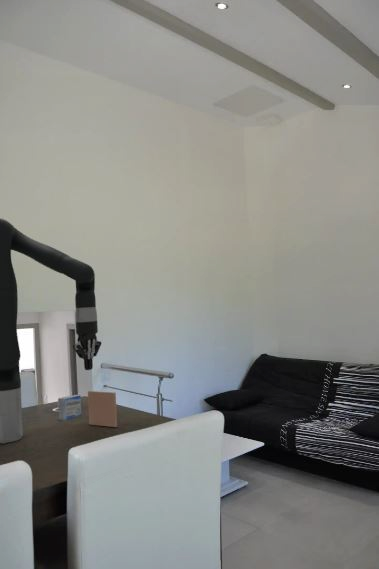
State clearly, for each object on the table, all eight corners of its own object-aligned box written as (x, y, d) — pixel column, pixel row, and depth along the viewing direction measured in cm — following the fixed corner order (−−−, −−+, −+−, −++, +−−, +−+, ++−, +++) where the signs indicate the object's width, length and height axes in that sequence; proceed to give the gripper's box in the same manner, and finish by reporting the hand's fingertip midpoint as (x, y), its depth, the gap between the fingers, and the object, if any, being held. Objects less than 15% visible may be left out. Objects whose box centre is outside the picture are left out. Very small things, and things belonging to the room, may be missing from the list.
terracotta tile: (115, 427, 167) (113, 393, 168) (89, 424, 173) (87, 391, 173) (117, 426, 168) (115, 392, 169) (91, 423, 174) (89, 390, 174)
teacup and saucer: (65, 407, 211) (65, 397, 211) (76, 408, 206) (76, 399, 206) (48, 411, 204) (48, 401, 205) (59, 413, 199) (59, 403, 200)
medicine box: (65, 421, 182) (64, 398, 183) (58, 420, 185) (57, 397, 186) (81, 416, 189) (81, 395, 189) (74, 415, 191) (73, 394, 192)
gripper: (81, 321, 159) (84, 373, 158) (106, 319, 170) (109, 367, 170) (65, 322, 162) (67, 372, 162) (90, 319, 174) (92, 366, 173)
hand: (88, 369), depth 166 cm, fingers closed
